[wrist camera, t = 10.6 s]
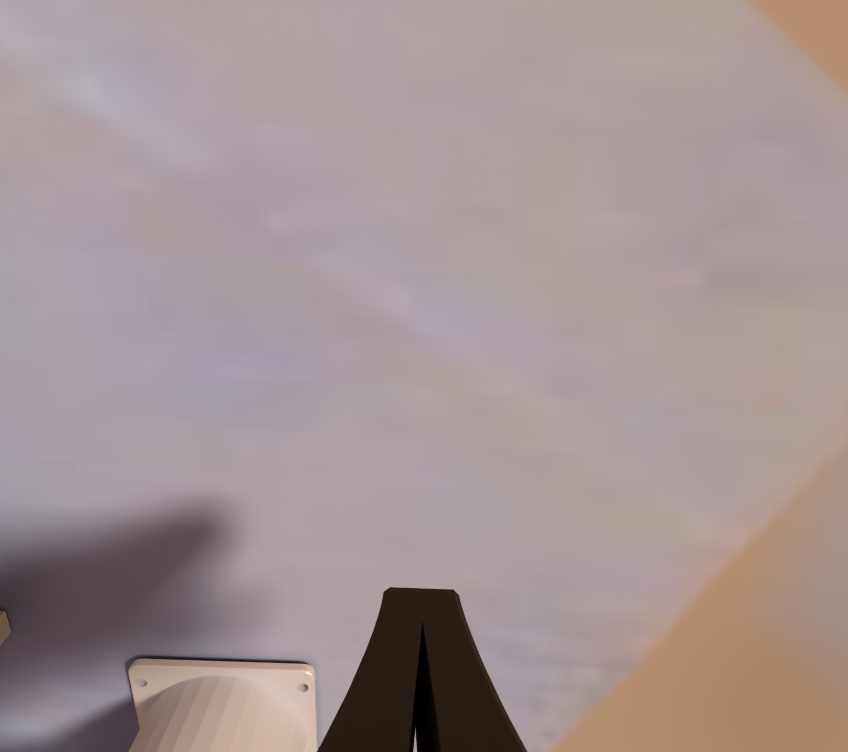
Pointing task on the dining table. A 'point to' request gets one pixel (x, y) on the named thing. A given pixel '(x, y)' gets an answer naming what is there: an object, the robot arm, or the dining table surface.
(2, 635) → the bench
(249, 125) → the dining table surface
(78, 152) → the dining table surface
